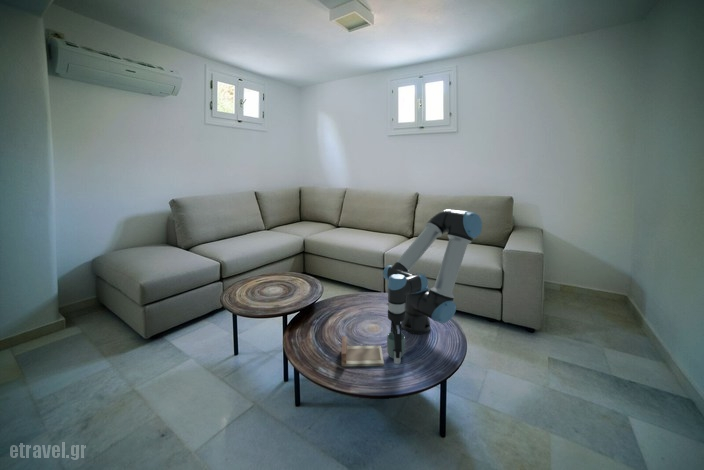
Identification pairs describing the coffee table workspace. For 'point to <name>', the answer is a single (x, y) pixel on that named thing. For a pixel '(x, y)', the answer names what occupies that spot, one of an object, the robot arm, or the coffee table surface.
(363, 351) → the tray
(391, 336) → the cup
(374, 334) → the coffee table surface
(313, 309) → the coffee table surface
